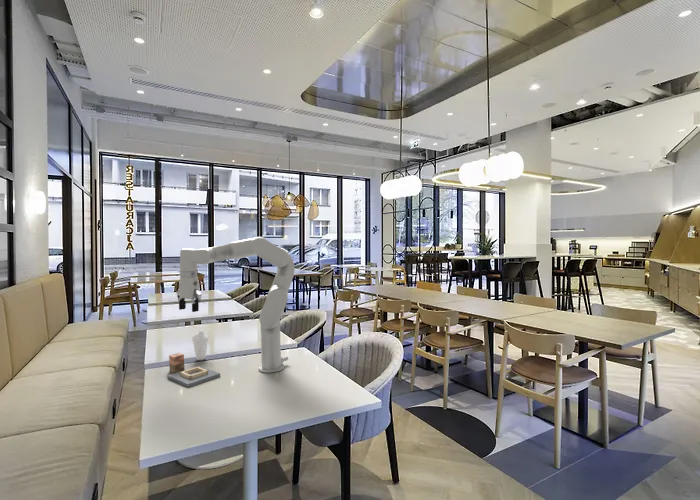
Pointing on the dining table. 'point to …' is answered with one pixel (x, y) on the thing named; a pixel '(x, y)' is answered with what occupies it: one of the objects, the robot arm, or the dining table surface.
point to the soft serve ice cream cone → (200, 344)
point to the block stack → (176, 362)
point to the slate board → (193, 376)
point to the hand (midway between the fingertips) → (188, 310)
